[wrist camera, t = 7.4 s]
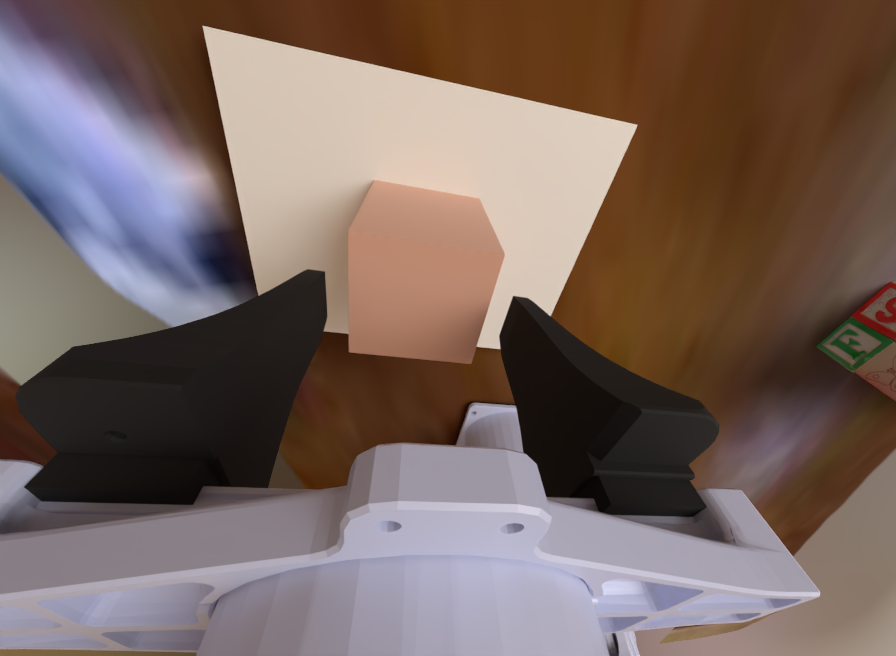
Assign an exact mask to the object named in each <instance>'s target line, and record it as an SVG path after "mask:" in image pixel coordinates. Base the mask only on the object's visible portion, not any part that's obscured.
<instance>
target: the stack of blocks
mask: <svg viewBox="0 0 896 656" xmlns="http://www.w3.org/2000/svg"><path fill="white" fill-rule="evenodd" d="M816 347H817V348H819V349H820V350H821V351H823V352H824V353H826V354H827V355H828V356H830V357H831V358H832V359H834V360H835V361H837V362H838V363H839V364H841V365H842V366H844V367H845V368H846V369H848V370H849V371H851V372H853V373H856V374H857V375H859V376H860V377H861V378H863V379H864V380H866V381H867V382H869V383H870V384H871V385H873V386H874V387H876V388H877V389H878V390H880V391H881V392H882V393H884V394H885V395H887V396H888V397H890V398H891V399H893V400H894V401H896V282H890V283H889V284H887V285H886V286H885V287H884V288H883V289H882V290H881V291H879V292H878V293H877V294H876V295H875V296H874V297H872V298H871V299H870V300H869V301H868V302H867V303H865V304H864V305H863V306H862V307H861V308H860V309H858V310H857V311H856V312H855V313H854V314H853V315H852V316H851V317H850V318H849V319H847V320H846V321H845V322H844V323H843V324H842V325H840V326H839V327H838V328H837V329H836V330H835V331H833V332H832V333H831V334H830V335H829V336H828V337H826V338H825V339H824V340H823V341H822V342H820V343H819V344H818V345H817V346H816Z"/></svg>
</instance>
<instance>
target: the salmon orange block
mask: <svg viewBox="0 0 896 656" xmlns="http://www.w3.org/2000/svg"><path fill="white" fill-rule="evenodd" d="M504 256H505V253H504V251H503V249H502V247H501V245H500V242H499V240H498V238H497V236H496V234H495V231H494V229H493V227H492V225H491V223H490V220H489V218H488V216H487V214H486V212H485V210H484V207H483V205H482V203H481V201H480V199H479V198H474V197H469V196H463V195H458V194H452V193H446V192H441V191H435V190H429V189H424V188H418V187H412V186H407V185H401V184H395V183H390V182H384V181H379V180H374V182H373V184H372V186H371V188H370V190H369V191H368V193H367V195H366V197H365V199H364V201H363V203H362V205H361V207H360V209H359V211H358V213H357V215H356V217H355V219H354V221H353V223H352V225H351V226H350V228H349V230H348V279H349V352H351V353H362V354H372V355H383V356H393V357H404V358H415V359H425V360H436V361H446V362H457V363H467V364H471V363H472V359H473V356H474V353H475V350H476V347H477V343H478V340H479V337H480V334H481V331H482V327H483V324H484V321H485V318H486V314H487V311H488V308H489V305H490V302H491V298H492V295H493V292H494V289H495V285H496V282H497V279H498V276H499V273H500V269H501V266H502V263H503V260H504Z"/></svg>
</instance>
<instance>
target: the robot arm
mask: <svg viewBox="0 0 896 656" xmlns="http://www.w3.org/2000/svg"><path fill="white" fill-rule="evenodd" d="M327 317H328V316H327V298H326V280H325V271H318V270H311V269H307V270H305V271H303V272H301V273H299V274H297V275H295V276H294V277H292V278H290V279H289V280H287V281H285V282H283V283H282V284H280V285H278V286H276V287H274V288H273V289H271V290H269V291H267V292H265V293H263V294H261V295H259V296H257V297H255V298H253V299H251V300H249V301H247V302H245V303H243V304H240V305H238V306H236V307H233V308H231V309H228V310H226V311H223V312H221V313H218V314H215V315H212V316H209V317H206V318H203V319H200V320H197V321H193V322H190V323H187V324H184V325H180V326H177V327H173V328H169V329H165V330H161V331H157V332H152V333H148V334H143V335H139V336H134V337H129V338H124V339H118V340H112V341H106V342H100V343H94V344H89V345H82V346H75V347H72V348H71V349H70V350H68V351H67V352H66V353H64V354H63V355H62V356H60V357H59V358H58V359H56V360H55V361H54V362H52V363H51V364H50V365H48V366H47V367H46V368H44V369H43V370H42V371H40V372H39V373H38V374H36V375H35V376H34V377H32V378H31V379H30V380H28V381H27V382H26V383H24V384H23V385H22V386H20V387H19V389H18V392H17V394H16V401H17V406H18V409H19V411H20V412H21V414H22V415H23V416H24V418H25V419H26V420H27V421H28V422H29V423H30V424H31V425H32V427H33V428H34V429H35V430H36V431H37V432H38V433H39V434H40V435H41V436H42V437H43V438H44V439H45V440H46V441H47V442H48V443H49V444H50V445H51V446H52V447H53V448H54V449H55V450H56V451H57V452H58V453H57V454H56V455H55V456H54V457H53V458H52V459H51V460H50V461H49V462H48V463H47V464H46V465H45V466H42V465H39V464H36V463H33V462H29V461H22V460H0V649H63V650H65V649H66V650H113V651H116V650H117V651H159V652H197V654H196V656H640V654H639V651H638V648H637V645H636V638H635V634H634V631H638V630H648V629H657V628H666V627H667V628H668V627H678V626H689V625H703V624H718V623H739V622H746V621H749V620H752V619H755V618H758V617H761V616H764V615H767V614H770V613H773V612H776V611H779V610H782V609H785V608H788V607H791V606H794V605H797V604H800V603H803V602H806V601H809V600H812V599H815V598H818V597H819V596H820V591H819V590H818V589H817V587H816V586H815V585H814V584H813V582H812V581H811V579H810V578H809V577H808V576H807V574H806V573H805V572H804V570H803V569H802V568H801V567H800V565H799V564H798V563H797V561H796V560H795V559H794V557H793V556H792V555H791V554H790V552H789V551H788V550H787V548H786V547H785V546H784V545H783V543H782V542H781V541H780V539H779V538H778V537H777V536H776V534H775V533H774V532H773V530H772V529H771V528H770V526H769V525H768V524H767V523H766V521H765V520H764V519H763V517H762V516H761V515H760V514H759V512H758V511H757V510H756V508H755V507H754V506H753V504H752V503H751V502H750V501H749V499H748V498H747V497H746V495H745V494H744V493H743V492H742V490H739V489H729V488H703V489H700V490H697V491H696V490H695V488H694V487H693V485H692V484H691V482H690V481H689V480H693V479H694V478H695V474H694V473H693V471H692V470H691V468H690V467H689V466H688V464H690V463H691V462H692V461H693V460H694V459H695V458H697V457H698V456H699V455H700V454H701V453H702V452H704V451H705V450H706V449H707V448H708V447H709V446H710V445H711V444H712V443H713V442H714V441H715V439H716V437H717V435H718V432H719V424H718V423H717V421H716V419H715V418H714V417H713V416H712V415H711V414H710V412H709V411H708V410H707V409H706V408H705V407H704V405H703V404H702V403H701V402H700V401H698V400H695V399H693V398H690V397H688V396H685V395H683V394H680V393H677V392H675V391H672V390H670V389H667V388H665V387H662V386H660V385H658V384H656V383H653V382H651V381H649V380H647V379H645V378H642V377H640V376H638V375H636V374H634V373H632V372H630V371H628V370H627V369H625V368H623V367H621V366H619V365H618V364H616V363H614V362H612V361H610V360H609V359H607V358H605V357H604V356H602V355H601V354H599V353H598V352H596V351H595V350H593V349H591V348H590V347H588V346H587V345H586V344H584V343H583V342H581V341H580V340H579V339H578V338H576V337H575V336H574V335H572V334H571V333H570V332H568V331H567V330H566V329H565V328H564V327H562V326H561V325H560V324H559V323H558V322H556V321H555V320H554V319H553V318H552V317H551V316H549V315H548V314H547V313H546V312H545V311H544V310H543V309H541V308H540V307H539V306H538V305H537V304H535V303H534V302H533V301H532V300H530V299H529V298H525V297H518V296H513V298H512V301H511V303H510V306H509V309H508V312H507V315H506V318H505V320H504V323H503V326H502V329H501V332H500V335H499V340H500V348H501V355H502V359H503V363H504V367H505V370H506V374H507V377H508V381H509V384H510V387H511V391H512V394H513V398H514V401H515V405H516V406H514V405H501V404H487V403H471V404H470V405H469V407H468V410H467V413H466V416H465V419H464V422H463V425H462V428H461V431H460V434H459V437H458V440H457V443H456V445H438V444H419V443H391V444H381V445H377V446H375V447H373V448H371V449H369V450H367V451H365V452H363V453H361V454H359V455H358V456H357V457H356V459H355V461H354V463H353V465H352V467H351V469H350V474H349V479H348V484H347V486H342V487H335V488H328V489H321V490H309V489H277V488H268V485H269V481H270V478H271V474H272V470H273V466H274V463H275V460H276V456H277V453H278V449H279V446H280V442H281V439H282V436H283V432H284V429H285V426H286V423H287V419H288V416H289V413H290V410H291V407H292V404H293V401H294V398H295V395H296V393H297V390H298V388H299V385H300V383H301V381H302V379H303V377H304V375H305V373H306V370H307V368H308V366H309V364H310V362H311V360H312V358H313V356H314V353H315V351H316V349H317V347H318V345H319V342H320V340H321V338H322V334H323V331H324V328H325V324H326V321H327Z"/></svg>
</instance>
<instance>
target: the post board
mask: <svg viewBox="0 0 896 656" xmlns="http://www.w3.org/2000/svg"><path fill="white" fill-rule="evenodd" d="M203 30H204V35H205V39H206V44H207V49H208V54H209V59H210V64H211V68H212V73H213V78H214V83H215V88H216V93H217V98H218V102H219V107H220V112H221V117H222V122H223V127H224V131H225V136H226V141H227V146H228V151H229V156H230V161H231V165H232V170H233V175H234V180H235V185H236V190H237V194H238V199H239V204H240V209H241V214H242V219H243V224H244V228H245V233H246V238H247V243H248V248H249V253H250V257H251V262H252V267H253V272H254V277H255V282H256V287H257V291H258V296H259V295H261V294H263V293H265V292H267V291H269V290H271V289H273V288H274V287H276V286H278V285H280V284H282V283H283V282H285V281H287V280H289V279H290V278H292V277H294V276H295V275H297V274H299V273H301V272H303V271H305V270H307V269H311V270H318V271H325V280H326V298H327V316H328V317H327V321H326V324H325V328H324V331H327V332H337V333H346V334H349V279H348V230H349V228H350V226H351V225H352V223H353V221H354V219H355V217H356V215H357V213H358V211H359V209H360V207H361V205H362V203H363V201H364V199H365V197H366V195H367V193H368V191H369V190H370V188H371V186H372V184H373V182H374V180H379V181H384V182H390V183H395V184H401V185H407V186H412V187H418V188H424V189H429V190H435V191H441V192H446V193H452V194H458V195H463V196H469V197H474V198H479V199H480V201H481V203H482V205H483V207H484V210H485V212H486V214H487V216H488V218H489V220H490V223H491V225H492V227H493V229H494V231H495V234H496V236H497V238H498V240H499V242H500V245H501V247H502V249H503V251H504V253H505V256H504V260H503V263H502V266H501V269H500V273H499V276H498V279H497V282H496V285H495V289H494V292H493V295H492V298H491V302H490V305H489V308H488V311H487V314H486V318H485V321H484V324H483V327H482V331H481V334H480V337H479V340H478V343H477V347H484V348H494V349H501V348H500V340H499V335H500V332H501V329H502V326H503V323H504V320H505V318H506V315H507V312H508V309H509V306H510V303H511V301H512V298H513V296H518V297H525V298H529V299H530V300H532V301H533V302H534V303H535V304H537V305H538V306H539V307H540V308H541V309H543V310H544V311H545V312H546V313H547V314H548V315H549V316H551V314H552V312H553V309H554V307H555V305H556V303H557V301H558V299H559V296H560V294H561V292H562V290H563V288H564V285H565V283H566V281H567V279H568V277H569V274H570V272H571V270H572V268H573V266H574V263H575V261H576V259H577V257H578V255H579V253H580V250H581V248H582V246H583V244H584V242H585V239H586V237H587V235H588V233H589V231H590V228H591V226H592V224H593V222H594V220H595V217H596V215H597V213H598V211H599V209H600V206H601V204H602V202H603V200H604V198H605V196H606V193H607V191H608V189H609V187H610V185H611V182H612V180H613V178H614V176H615V174H616V171H617V169H618V167H619V165H620V163H621V160H622V158H623V156H624V154H625V152H626V150H627V147H628V145H629V143H630V141H631V139H632V136H633V134H634V132H635V130H636V128H637V125H635V124H630V123H626V122H621V121H617V120H613V119H608V118H604V117H600V116H595V115H591V114H586V113H582V112H578V111H573V110H569V109H565V108H560V107H556V106H551V105H547V104H543V103H538V102H534V101H530V100H525V99H521V98H516V97H512V96H508V95H503V94H499V93H494V92H490V91H486V90H481V89H477V88H473V87H468V86H464V85H459V84H455V83H451V82H446V81H442V80H438V79H433V78H429V77H424V76H420V75H416V74H411V73H407V72H403V71H398V70H394V69H389V68H385V67H381V66H376V65H372V64H368V63H363V62H359V61H354V60H350V59H346V58H341V57H337V56H333V55H328V54H324V53H319V52H315V51H311V50H306V49H302V48H298V47H293V46H289V45H284V44H280V43H276V42H271V41H267V40H263V39H258V38H254V37H249V36H245V35H241V34H236V33H232V32H227V31H223V30H219V29H214V28H210V27H206V26H203Z"/></svg>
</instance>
